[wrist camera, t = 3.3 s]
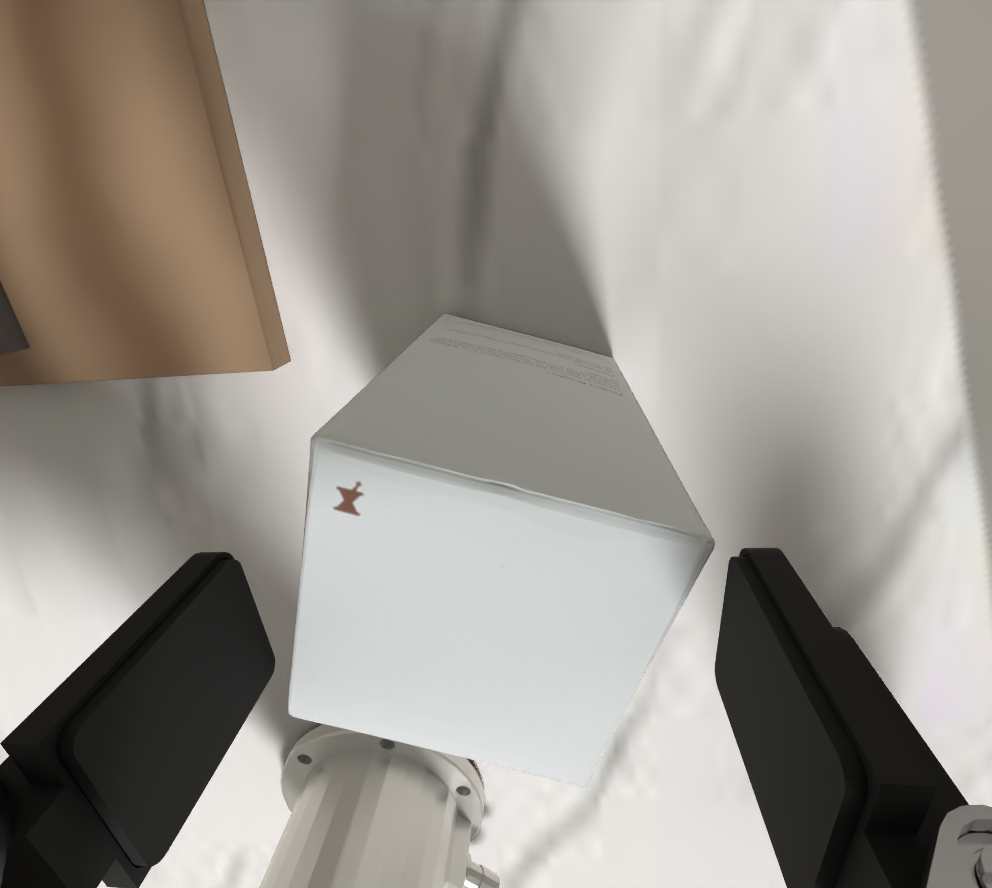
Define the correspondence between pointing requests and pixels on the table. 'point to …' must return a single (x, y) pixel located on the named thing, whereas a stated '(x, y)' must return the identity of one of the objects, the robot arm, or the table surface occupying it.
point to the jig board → (124, 200)
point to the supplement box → (490, 553)
